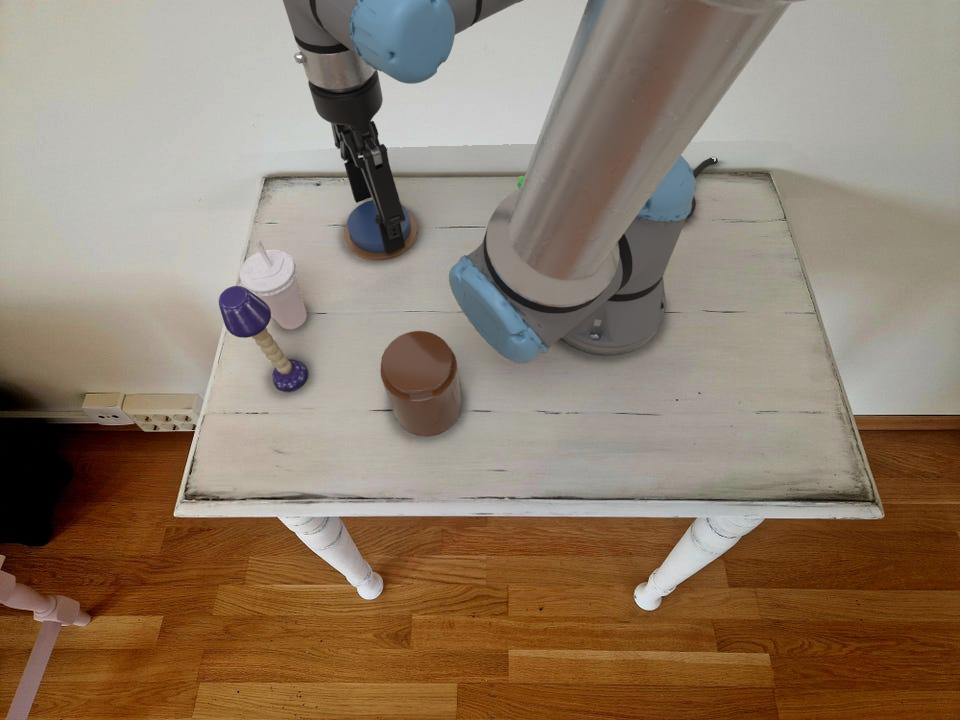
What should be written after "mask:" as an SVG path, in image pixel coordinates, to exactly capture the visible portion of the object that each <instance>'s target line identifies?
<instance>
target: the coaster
mask: <svg viewBox="0 0 960 720" xmlns="http://www.w3.org/2000/svg"><path fill="white" fill-rule="evenodd" d="M406 210H407V211H408V214H409V218H410V223H411V230H410V234H409V236H408V238H407V239H406V240H405V241H404V244H405V247H404V248H401V249H399V250H396V251H394V252H391V253H389V254H386V252H369V251H365V250H363V249H361V248H359V247H357V246H356V245H355V244H354V243H353V241H352V240H351V238H350V235H349V231H348V227H347V223H346V224H345V227H344V231H343V238H344V241H345V244H346V246H347V247H348V249H349V250H350V251H351V253H352V254H354V255H355V256H357V257H359V258H362V259H365V260H368V261H386V260H391V259H393V258H396V257H399V256H401V255H402V254H404V253H406V252H407V251H408V250H409V249H410V248H411V247H412V246H413V245H414V243H415V242H416V240H417V238H418V232H419V231H418V229H419V228H418V223H417V220H416V218H415V216H414V215H413V213H412V212H410V211H409V210H408V209H406Z"/></svg>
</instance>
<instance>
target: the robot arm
mask: <svg viewBox="0 0 960 720" xmlns="http://www.w3.org/2000/svg"><path fill="white" fill-rule="evenodd" d="M523 1H524V0H282V3H283V5H284V10H285V12H286V15H287V19H288V22H289V25H290V27H291V31H292V34H293V37H294V41H295V43H296V46H297V48H298V50H299V52H296V53H294V55H293V57H294V60H295V63H296V64H302V66H303V70H304V73H305V76H306V78H307V79H308V89H309V91H310V95H311V98H312V101H313V104H314V108H315V111H316V113H317V114H318V116H320V118H322V120H324V121H325V122H328V123H330V126H331V130H332V131H331V132H332V135H333V141H334V146H335V148H336V149H337V150H340V151H339V152H340V158H341V159H342V160H343V161H344V168H345V173H346V175H347V179H348V182H349V186H350V189H351V194H352V196H353V200H354V202H355V203H356V204H358V203H360V202H362V201H365V200H368V199H371V200H373V202H374V205H375V208H376V210H377V213H378V215H376V218H375V219H374V222H375V224H376V225H377V224H378V226H379V230H380V234H381V238H382V242H383V246H384V250H385V252H386V254H389V253H391V252H394V251H396V250H399V249H401V248H404V247H405V244H404V239H403V234H402V229H401V224H400V223H401V222H403V221H405V215H404V213H403V210H402V206H401V205H402V203H401V200H400V197H399V196H400V195H399V193H398V189H397V186H396V182H395V180H394V179H395V178H394V175H393V172H392V169H391V164H390V160H389V155H388V148H387V146H386V145H385V144H384V143H380V140H379V131H378V128H377V126H376V123H375V121H374V120H373V118H374V117H375V116H376V115H377V113H378V112H379V111H380V109H381V108H382V105H383V98H384V97H383V93H382V87H381V81H380V76H379V72H380V73H381V72H382V73H384V74H385V75H387V76H389V77H390V78H392V79H394V80H395V81H397V82H400V83H403V84H407V85H408V84H409V85H412V84H414V85H415V84H420V83H423V82H425V81H427V80H429V79H430V78H432V77H433V76H435V75H436V74H437V72H438V68H439V67H440V66H441V65H442V64H443V63H446V61H447V60H448V58H449V57H450V54H451V52H452V50H453V46H454V42H455V36H456V35H458V34H460V33H461V32H463V31H465V30H468V28H470V27H473V25H475V24H477V23H479V22H481V21H484V20H485V19H487V18H489V17H491V16H493V15H495V14H498V13H499V12H502V11H503V10H505V9H507V8H510V7H512V6H513V5H516V4H518V3H521V2H523ZM804 1H806V0H587V2H586V5H585V7H584V10H583V13H582V15H581V19H580V21H579V24H578V26H577V30H576V33H575V35H574V38H573V40H572V44H571V46H570V49H569V52H568V55H567V57H566V60H565V64H564V66H563V69H562V71H561V74H560V77H559V80H558V82H557V85H556V89H555V91H554V94H553V97H552V99H551V103H550V105H549V108H548V110H547V112H546V116H545V119H544V120H543V121H544V122H543V125H542V127H541V130H540V133H539V135H538V138H537V141H536V144H535V146H534V149H533V151H532V154H531V158H530V161H529V164H528V165H527V169H526V171H525V175H524V176H525V177H524V180H523V182H522V185H521V188H520V189H518V190H516V191H514V192H512V193H510V194H509V195H507V197H506V198H504V199H503V200H502V201H500V203H498V206H496V208H495V209H494V211H493V213H492V215H491V216H490V218H489V221H488V223H487V227H486V230H485V234H484V236H483V240H482V242H481V243H480V245H479V246H478V247H477V248H476V249H473V250H472V251H471V252H470V253H468V254H467V255H465V254H464V255H463V256H460V258H459V260H458V261H457V262H456V263H455V264H454V265H453V266H452V267H450V269H449V272H448V282H449V287H450V290H451V292H452V295H453V297H454V299H455V300H456V302H457V304H458V306H459V308H460V310H461V311H462V312H463V314H464V316H465V317H466V318H467V320H468V321H469V323H470V324H471V326H472V327H473V328H474V329H475V331H477V332H478V334H479V335H480V336H481V337H482V338H483V339H484V340H485V341H486V342H487V344H489V346H491V347H492V348H493V349H494V350H495V352H497V353H498V354H499V355H501V356H503V357H504V358H506V359H508V360H509V361H511V362H513V363H516V364H528V363H531V362H532V361H533V360H534V359H536V358H537V357H539V356H540V355H541V354H546V353H547V352H549V349H550V348H551V347H552V346H553V345H555V344H556V343H557V342H558V341H559V340H560V339H561V340H562V341H563V342H565V343H567V344H568V345H569V346H571V347H573V348H575V349H577V350H579V351H582V352H584V353H588V354H591V355H599V356H618V355H623V354H627V353H630V352H631V353H632V352H633V351H636V350H638V349H639V348H641V347H643V346H645V345H646V344H647V343H648V342H650V340H652V339H653V338H654V336H655V335H656V334H657V332H658V330H659V328H660V326H661V324H662V322H663V319H664V316H665V313H666V308H667V307H666V306H667V304H666V303H667V301H666V292H665V285H664V283H665V281H664V275H665V272H666V270H667V268H668V265H669V263H670V260H671V257H672V254H673V252H674V250H675V248H676V245H677V242H678V240H679V237H680V235H681V234H682V233H681V232H682V230H683V227H684V226H685V223H686V221H687V220H688V219H690V218H692V215H694V212H695V211H696V206H697V201H696V196H695V193H696V187H697V181H696V178H697V177H698V176H699V175H700V174H701V173H702V172H703V170H705V169H706V168H708V167H709V166H711V165H712V164H714V165H715V164H717V163H718V162H719V160H718V158H717V157H716V161H715V162H714V159H712V158H711V157H708V158H709V159H708V158H706V159H707V160H706V159H705V160H703V161H702V162H701V163H700V164H699V165H697V167H696V168H694V169H693V168H692V167H691V165H690V163H689V162H688V161H687V160H686V158H684V157H683V155H682V154H683V153H684V152H685V150H686V149H687V147H688V146H689V145H690V143H691V142H692V140H694V138H695V136H696V135H697V134H698V133H699V131H700V130H701V128H702V127H703V125H704V124H705V122H706V121H707V120H708V118H709V117H710V116H711V114H712V113H713V112H714V111H715V109H716V108H717V106H718V105H719V104H720V102H721V101H722V100H723V98H724V97H725V95H726V94H727V92H728V91H729V90H730V88H731V87H732V86H733V84H734V83H735V82H736V80H737V79H738V78H739V76H740V75H741V74H742V72H743V71H744V69H745V68H746V67H747V65H748V64H749V62H750V61H751V60H752V58H753V57H754V55H755V54H756V53H757V52H758V50H759V48H760V47H761V46H762V45H763V43H764V42H765V40H767V38H768V36H769V35H770V33H771V32H772V31H773V30H774V29H775V26H776V25H777V24H778V23H779V21H780V20H781V19H782V17H783V16H784V15H785V14H786V12H787V10H788V9H789V7H790V6H791V5H792V3H799V2H804ZM378 71H379V72H378ZM359 156H360V157H359ZM345 161H346V162H345Z"/></svg>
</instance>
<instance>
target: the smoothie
mask: <svg viewBox="0 0 960 720" xmlns="http://www.w3.org/2000/svg"><path fill="white" fill-rule="evenodd" d="M254 243H255V245H256V247H257V249H258V251H257V252H255V253H254V254H252V255H250V256H249V257H248V258H247V259H245V261H244V262H243V263H242V265H241V267H240V270H239V280H240V282H241V284H242V287H244V288H246V289H248V290H249V291H250V292H252V293H253V294H255V295H256V296H257V297H259V298H260V299H262V300H263V301H264V302H265V303H266V304H267V305H268V306H269V308H270V311H271V317H272V318H273V319H274V320H275V321H276V322H277V324H278V325H279V326H280V327H281V328H283V329H284V330H285V329H286V330H294V329H298V328H300V327H301V326H302V325H304V324H305V322H306V320H307V318H308V316H307V315H308V314H307V310H306V307H305V302H304V299H303V295H302V291H301V289H300V285H299V284H300V283H299V281H298V277H297V272H298V268H297V265H296V263H295V261H294V259H293V258H292V256H291V255H290V254H289V253H287V251H283V250H281V249H275V248H274V249H273V248H271V249H265V247H264V245H263V244H262V241H261V239H259V238H256V239H254Z"/></svg>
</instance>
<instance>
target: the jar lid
mask: <svg viewBox="0 0 960 720" xmlns="http://www.w3.org/2000/svg"><path fill="white" fill-rule="evenodd" d="M401 206H402V210H403V213H404V215H405V221H403V222H401V223H400V224H401V229H402V234H403V239H404V241H405V240H406V239H407V238H408V236H409V234H410V230H411V223H410V218H409V214H408V211H409V210H408V209H407V208H406V206H404V205H403V204H401ZM407 210H408V211H407ZM376 215H378V213H377V210H376V208H375V205H374V202H373V200H372V199H370V200H367V201H365V202H363V203H361V204H359V205H358V206H356V207H355V208H354V209H353V210H352V211H351V213H350V214H349V215H348V218H347V222H346V224H347V227H348V231H349V235H350V238H351V240H352V241H353V243H354V244H355V245H356V246H357V247H359V248H361V249H363V250H365V251H369V252H385V250H384V246H383V242H382V238H381V234H380V230H379V226H378V224H377V225H376V224H375V222H374V219H375V218H376Z"/></svg>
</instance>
